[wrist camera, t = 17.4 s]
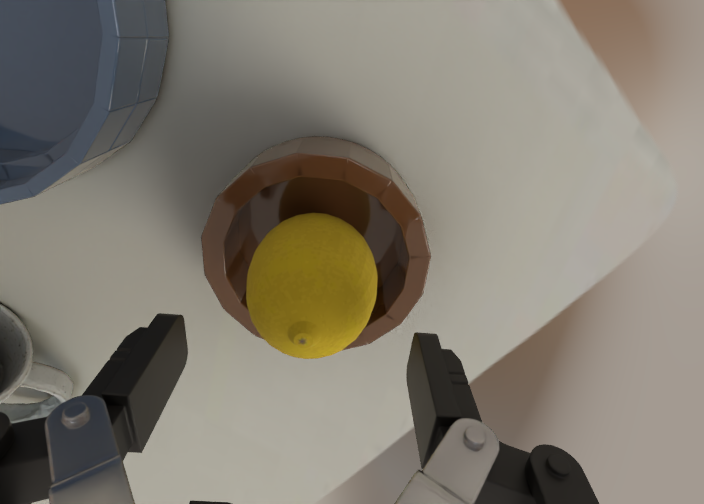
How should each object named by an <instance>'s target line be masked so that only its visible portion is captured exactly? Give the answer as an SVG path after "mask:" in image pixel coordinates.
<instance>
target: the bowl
mask: <svg viewBox="0 0 704 504" xmlns="http://www.w3.org/2000/svg"><path fill="white" fill-rule="evenodd" d="M168 38H169V31H168V21H167V12H166V2H165V0H0V204H5V203H9V202H13V201H18V200H22V199H27V198H31V197H35V196H37V195H39V194H41V193H43V192H45V191H47V190H49V189H51V188H53V187H55V186H57V185H59V184H61V183H63V182H65V181H67V180H70V179H72V178H74V177H76V176H78V175H80V174H82V173H84V172H86V171H88V170H90V169H92V168H94V167H95V166H97V165H98V164H100V163H101V162H102V161H104V160H105V159H107V158H108V157H110V156H111V155H112V154H114V153H115V152H117V151H118V150H119V149H121V148H122V147H124V146H125V145H127V144H128V143H129V142H131V140H132V139H133V137H134V136H135V134H136V132H137V131H138V129H139V128H140V126H141V124H142V123H143V121H144V119H145V118H146V116H147V114H148V113H149V111H150V110H151V108H152V106H153V105H154V103H155V101H156V100H157V96H158V93H159V88H160V83H161V78H162V73H163V67H164V62H165V57H166V52H167V47H168V42H169V39H168Z"/></svg>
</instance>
